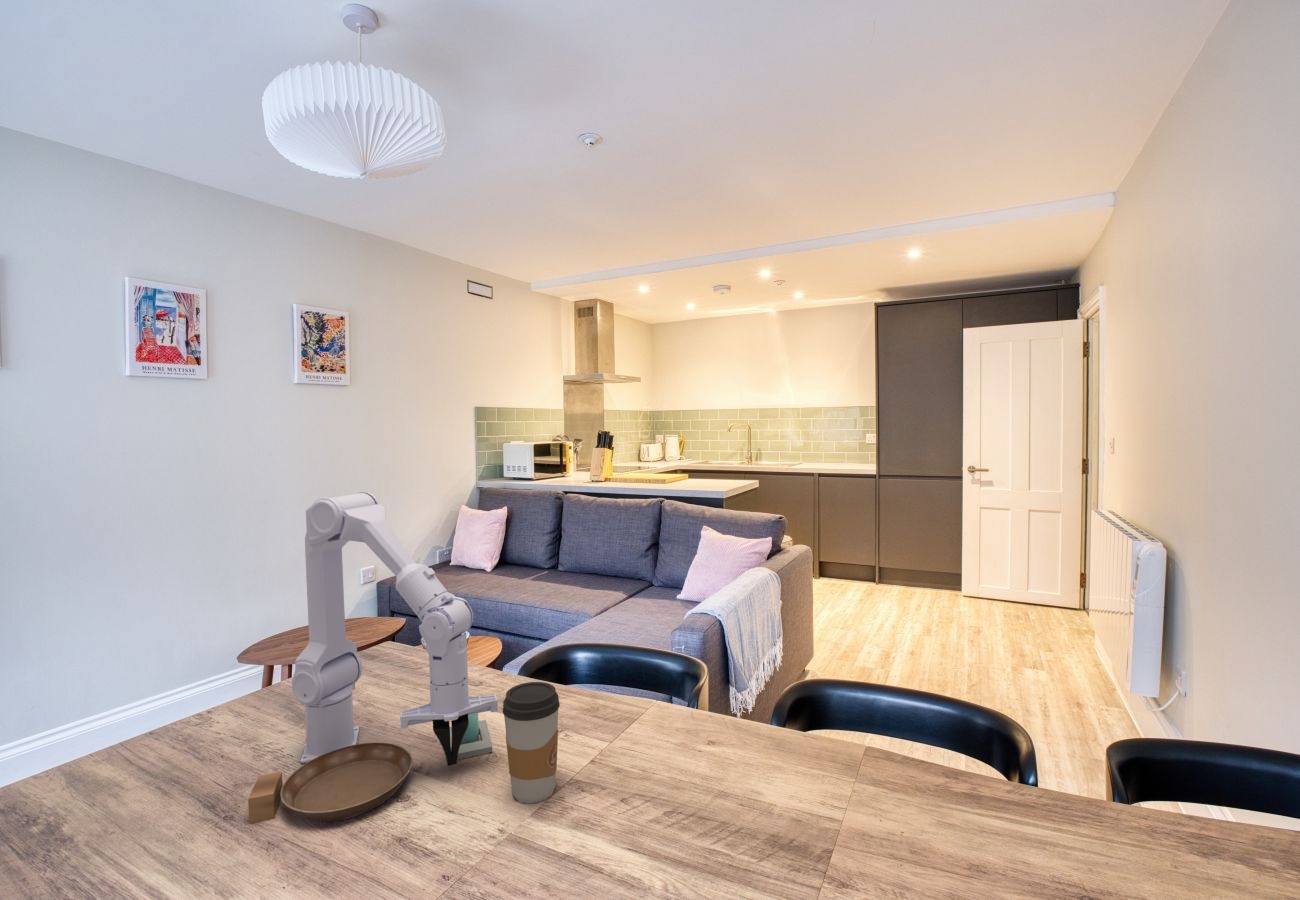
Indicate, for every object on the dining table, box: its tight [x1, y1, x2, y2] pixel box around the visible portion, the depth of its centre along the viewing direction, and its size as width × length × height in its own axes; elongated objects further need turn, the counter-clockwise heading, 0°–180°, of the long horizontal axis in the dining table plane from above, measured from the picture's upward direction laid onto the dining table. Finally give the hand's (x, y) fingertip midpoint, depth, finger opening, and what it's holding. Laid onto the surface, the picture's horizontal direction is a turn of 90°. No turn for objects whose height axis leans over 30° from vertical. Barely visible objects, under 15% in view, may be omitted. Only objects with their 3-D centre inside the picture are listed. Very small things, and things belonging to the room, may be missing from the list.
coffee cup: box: [502, 681, 560, 804], centre depth 90 cm, size 8×8×15 cm
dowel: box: [460, 713, 480, 745], centre depth 105 cm, size 4×4×6 cm
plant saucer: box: [280, 741, 413, 822], centre depth 92 cm, size 18×18×3 cm
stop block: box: [247, 770, 284, 824], centre depth 88 cm, size 6×3×4 cm, turn 21°
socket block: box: [450, 719, 493, 761], centre depth 105 cm, size 10×7×1 cm
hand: (451, 762), depth 97 cm, fingers closed
